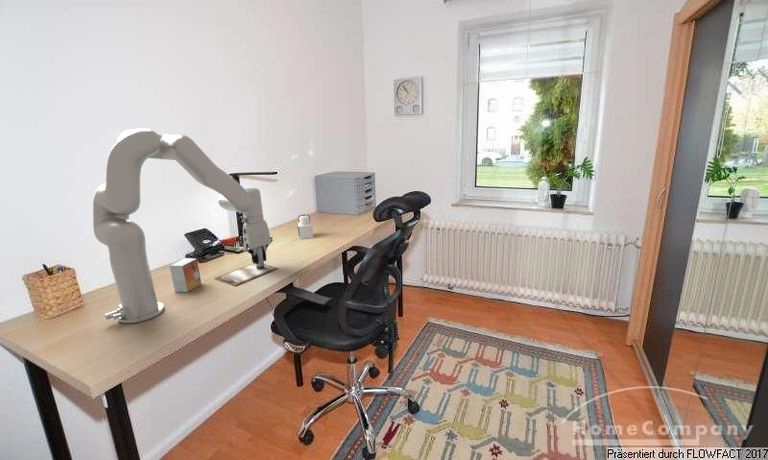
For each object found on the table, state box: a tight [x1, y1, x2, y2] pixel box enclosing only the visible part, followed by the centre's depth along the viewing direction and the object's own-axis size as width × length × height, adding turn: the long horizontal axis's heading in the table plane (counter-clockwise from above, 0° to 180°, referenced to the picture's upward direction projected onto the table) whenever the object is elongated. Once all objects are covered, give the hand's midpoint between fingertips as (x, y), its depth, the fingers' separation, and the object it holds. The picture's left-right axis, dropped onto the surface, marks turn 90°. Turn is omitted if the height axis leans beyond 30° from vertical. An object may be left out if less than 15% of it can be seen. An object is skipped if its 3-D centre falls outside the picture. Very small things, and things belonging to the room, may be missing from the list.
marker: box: [256, 246, 265, 270], centre depth 151 cm, size 3×3×13 cm
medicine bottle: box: [297, 214, 314, 240], centre depth 195 cm, size 7×7×12 cm
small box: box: [169, 257, 202, 293], centre depth 137 cm, size 8×6×10 cm
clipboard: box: [214, 262, 279, 287], centre depth 149 cm, size 20×14×1 cm
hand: (259, 261), depth 152 cm, fingers closed on marker, 3 cm apart
